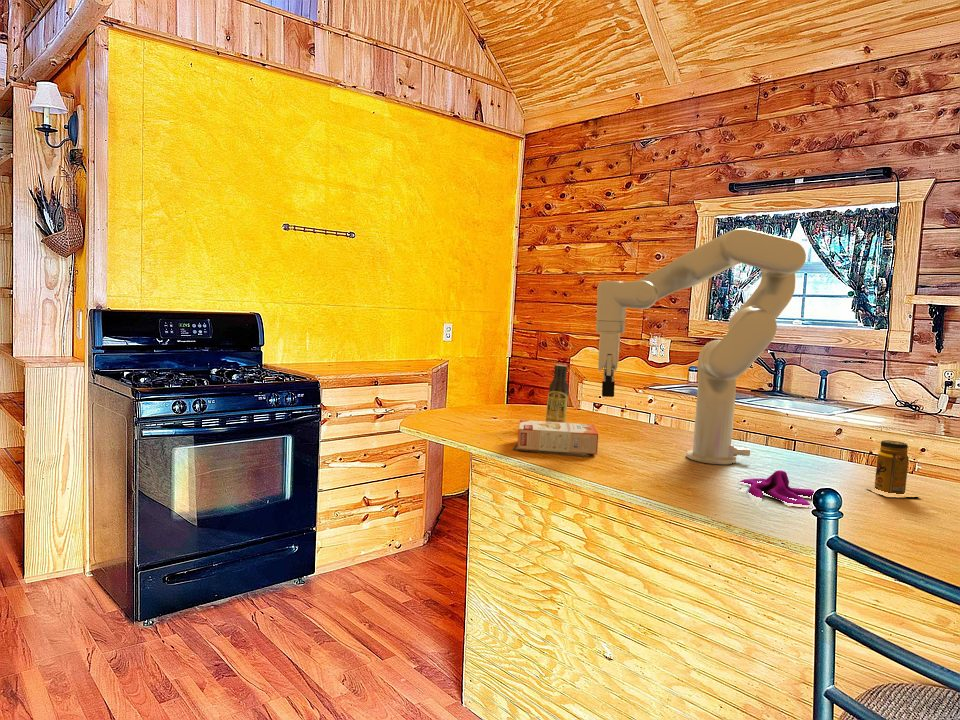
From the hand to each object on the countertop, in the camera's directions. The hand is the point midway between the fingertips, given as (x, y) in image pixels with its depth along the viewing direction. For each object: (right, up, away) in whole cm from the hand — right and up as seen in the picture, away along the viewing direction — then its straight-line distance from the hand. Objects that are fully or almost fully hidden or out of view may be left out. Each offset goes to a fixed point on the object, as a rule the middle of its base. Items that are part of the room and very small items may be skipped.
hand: (607, 396), depth 185 cm
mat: (-14, -14, +4) cm, 20 cm away
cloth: (+30, -21, -33) cm, 49 cm away
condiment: (+60, -21, -28) cm, 69 cm away
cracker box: (-3, -11, +1) cm, 12 cm away
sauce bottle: (-11, -12, +32) cm, 35 cm away
